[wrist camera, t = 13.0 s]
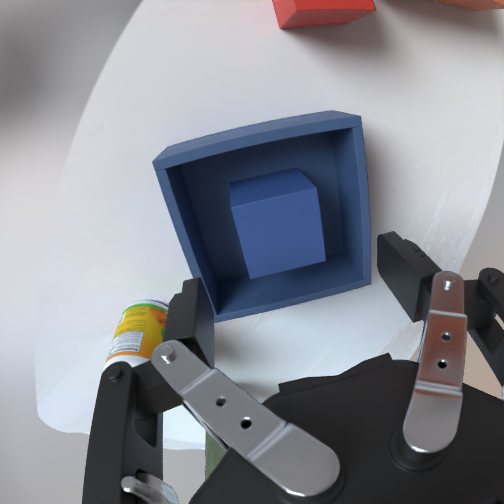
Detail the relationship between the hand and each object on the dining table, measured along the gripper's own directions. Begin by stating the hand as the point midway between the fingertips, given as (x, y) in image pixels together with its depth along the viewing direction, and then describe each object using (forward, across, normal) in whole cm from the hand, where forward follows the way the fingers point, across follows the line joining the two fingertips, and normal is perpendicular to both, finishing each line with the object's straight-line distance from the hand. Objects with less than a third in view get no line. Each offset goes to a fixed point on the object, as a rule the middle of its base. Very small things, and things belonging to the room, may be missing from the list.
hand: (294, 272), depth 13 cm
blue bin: (+9, 0, 0) cm, 9 cm away
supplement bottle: (+9, +12, +8) cm, 17 cm away
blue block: (+8, 0, 0) cm, 9 cm away
